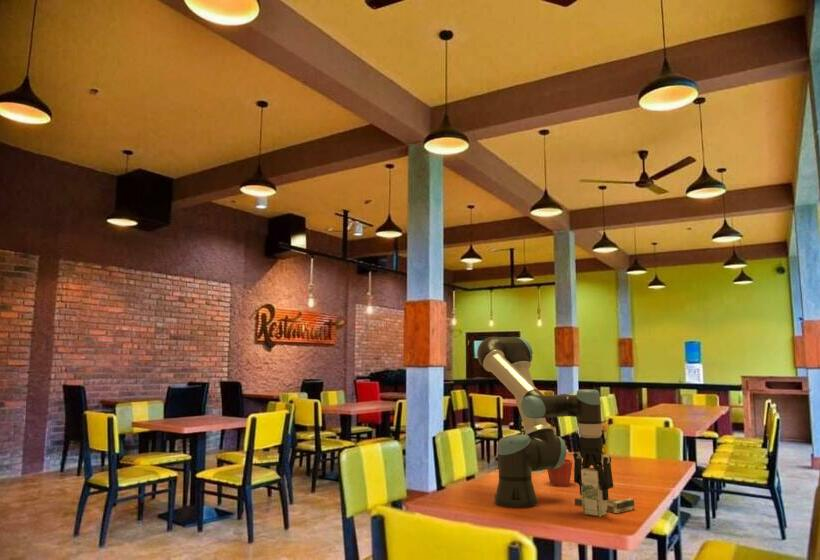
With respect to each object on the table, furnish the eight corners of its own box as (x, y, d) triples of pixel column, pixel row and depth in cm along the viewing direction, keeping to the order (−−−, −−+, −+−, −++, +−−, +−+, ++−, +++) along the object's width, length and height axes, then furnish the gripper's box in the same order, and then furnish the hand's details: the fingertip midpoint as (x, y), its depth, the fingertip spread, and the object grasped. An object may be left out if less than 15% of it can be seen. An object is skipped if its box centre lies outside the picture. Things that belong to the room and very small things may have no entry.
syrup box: (607, 513, 192) (604, 468, 195) (599, 517, 188) (596, 470, 190) (590, 511, 196) (588, 466, 198) (582, 514, 192) (580, 468, 194)
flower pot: (570, 481, 247) (569, 458, 248) (575, 487, 236) (574, 462, 237) (545, 481, 248) (544, 458, 249) (548, 487, 237) (547, 462, 238)
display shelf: (617, 513, 192) (616, 502, 193) (575, 504, 206) (574, 494, 207) (635, 509, 198) (634, 498, 199) (592, 500, 212) (592, 490, 212)
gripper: (622, 438, 190) (627, 512, 187) (574, 433, 206) (578, 501, 202) (608, 439, 186) (613, 515, 183) (560, 434, 202) (563, 504, 198)
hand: (594, 508), depth 193 cm, fingers closed on syrup box, 6 cm apart
